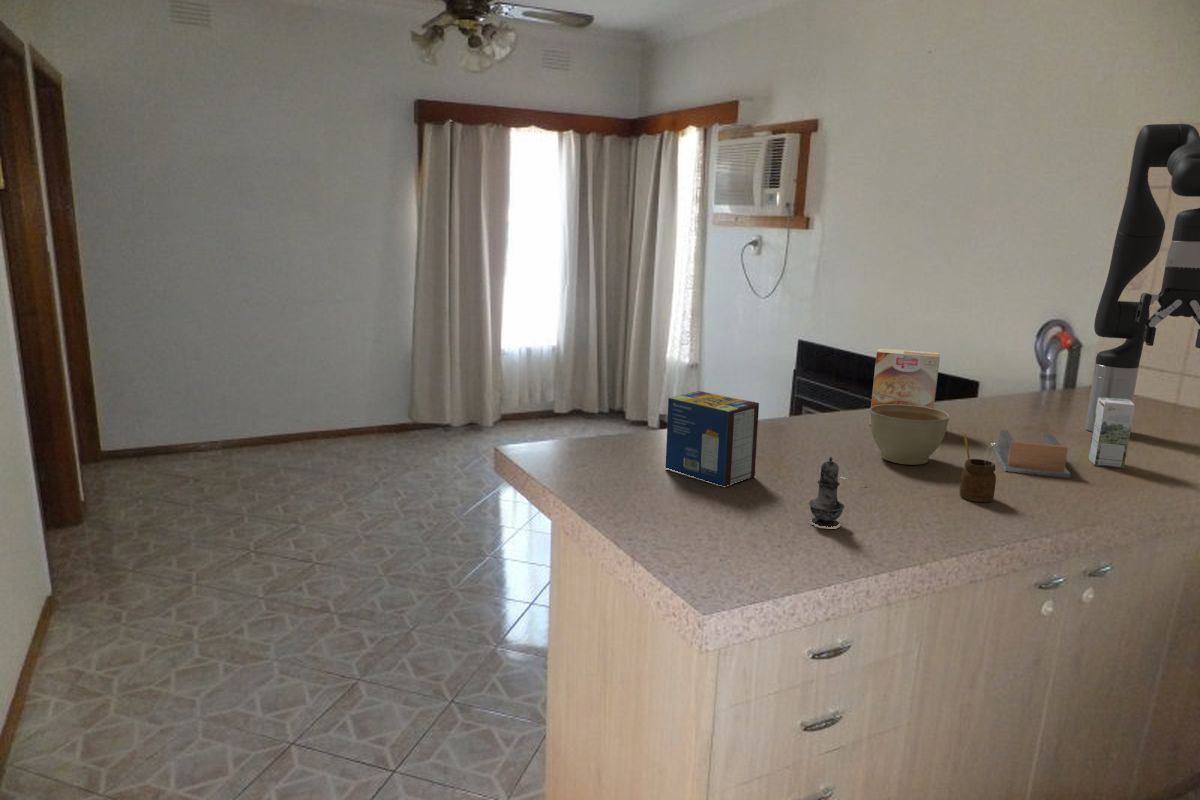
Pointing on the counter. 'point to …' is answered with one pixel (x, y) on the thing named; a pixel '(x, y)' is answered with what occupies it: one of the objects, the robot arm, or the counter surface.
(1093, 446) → the syrup box
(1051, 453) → the guide bracket
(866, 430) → the counter surface
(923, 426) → the planter bowl
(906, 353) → the coffeecake box
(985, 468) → the utensil holder
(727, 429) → the protein box
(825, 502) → the salt shaker
